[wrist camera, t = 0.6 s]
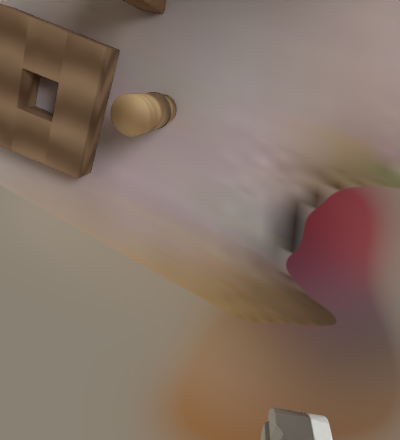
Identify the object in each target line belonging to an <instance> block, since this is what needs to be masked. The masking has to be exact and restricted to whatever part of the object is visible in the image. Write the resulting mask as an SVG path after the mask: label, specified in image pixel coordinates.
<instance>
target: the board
mask: <svg viewBox="0 0 400 440" xmlns="http://www.w3.org/2000/svg"><path fill="white" fill-rule="evenodd" d="M119 51H120V50H118V49H115V48H113V47H110V46H108V45H105V44H103V43H100V42H98V41H95V40H93V39H90V38H88V37H85V36H83V35H80V34H78V33H75V32H73V31H70V30H68V29H65V28H63V27H60V26H58V25H55V24H53V23H50V22H48V21H45V20H43V19H40V18H38V17H35V16H33V15H30V14H28V13H25V12H23V11H20V10H18V9H15V8H12V7H9V6H6V5H2V4H0V146H2V147H5V148H7V149H9V150H12V151H14V152H16V153H19V154H21V155H23V156H26V157H28V158H31V159H33V160H35V161H38V162H40V163H42V164H45V165H47V166H49V167H52V168H54V169H56V170H59V171H61V172H63V173H66V174H68V175H70V176H73V177H75V178H79V177H81V176H84V175H86V174H88V173H90V172H91V169H92V165H93V161H94V156H95V152H96V148H97V144H98V140H99V135H100V131H101V127H102V123H103V119H104V114H105V110H106V106H107V102H108V98H109V93H110V89H111V85H112V81H113V76H114V72H115V68H116V64H117V60H118V55H119ZM40 75H41V76H43V77H46V78H48V79H51V80H53V81H55V82H58V83H59V85H58V90H57V96H56V102H55V107H54V113H53V114H52V113H50V112H48V111H45V110H43V109H40V108H38V107H35V103H36V97H37V90H38V84H39V77H40Z"/></svg>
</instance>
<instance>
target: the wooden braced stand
mask: <svg viewBox="0 0 400 440" xmlns="http://www.w3.org/2000/svg"><path fill="white" fill-rule="evenodd" d="M123 1H125V2H127V3H129V4H131V5H133V6H134V7H136V8H138V9H140V10H146V11H151V12H157V13H163V12H164V9H165V1H166V0H123Z"/></svg>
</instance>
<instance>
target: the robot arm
mask: <svg viewBox="0 0 400 440" xmlns="http://www.w3.org/2000/svg"><path fill="white" fill-rule="evenodd" d="M268 415H269V421H268V422H266V423H265V424H264V426H263V429H262V433H261V440H333V439H332V435H331V430H330V426H329V422H328V420H327V418H326V417H325V416H321V415H315V414H308V413H305V412H298V411H292V410H284V409H278V408H272V409H270V412H269V414H268Z"/></svg>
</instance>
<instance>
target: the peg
mask: <svg viewBox="0 0 400 440" xmlns="http://www.w3.org/2000/svg"><path fill="white" fill-rule="evenodd" d="M175 115H176V104H175V102H174V100H173V99H172V98H171V97H169V96H168V95H163V94H160V93H157V92H150V93H137V94H125V95H122V96H120V97H118V98H117V99H116V100H115V101H114V103H113V105H112V108H111V119H112V122H113V125H114V126H115V128H116V129H117V130H118V131H119V132H120V133H122V134H123V135H126V136H130V137H133V136H138V135H141V134H144V133H146V132H149V131H152V130H155V129H159V128H162V127H164V126H165V125H166V124H167V123H168V122H170V121H172V120H173V118H174V117H175Z"/></svg>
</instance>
